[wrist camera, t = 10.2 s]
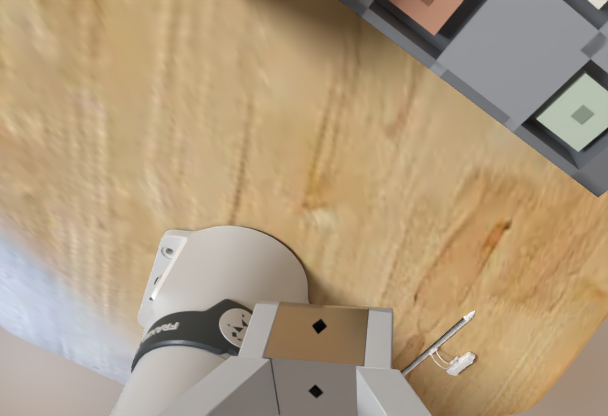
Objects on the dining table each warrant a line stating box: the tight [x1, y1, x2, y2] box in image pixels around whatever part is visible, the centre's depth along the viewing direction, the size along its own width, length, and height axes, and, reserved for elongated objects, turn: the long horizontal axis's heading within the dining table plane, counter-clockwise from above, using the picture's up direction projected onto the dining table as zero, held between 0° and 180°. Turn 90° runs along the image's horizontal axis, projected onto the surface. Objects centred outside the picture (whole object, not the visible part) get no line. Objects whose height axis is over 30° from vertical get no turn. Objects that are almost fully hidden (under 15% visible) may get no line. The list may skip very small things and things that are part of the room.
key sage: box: [533, 68, 608, 152], centre depth 34 cm, size 4×4×2 cm
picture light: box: [401, 311, 476, 377], centre depth 55 cm, size 14×4×2 cm, turn 152°
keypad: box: [339, 0, 608, 197], centre depth 32 cm, size 14×24×5 cm, turn 57°
